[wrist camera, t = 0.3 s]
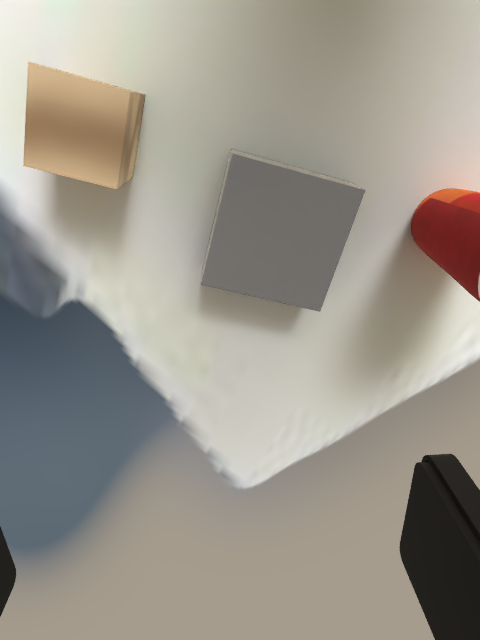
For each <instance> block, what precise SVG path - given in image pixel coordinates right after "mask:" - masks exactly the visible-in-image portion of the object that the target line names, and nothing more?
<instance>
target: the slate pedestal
mask: <svg viewBox="0 0 480 640" xmlns="http://www.w3.org/2000/svg"><path fill="white" fill-rule="evenodd" d="M364 192H365V190H364V189H362V188H360V187H358V186H356V185H355V184H353V183H351V182H348V181H344V180H341V179H337V178H333V177H330V176H326V175H323V174H319V173H315V172H312V171H308V170H305V169H301V168H297V167H294V166H290V165H287V164H283V163H280V162H276V161H272V160H269V159H265V158H262V157H258V156H254V155H251V154H247V153H244V152H240V151H236V150H233V149H231V150H230V155H229V159H228V163H227V167H226V172H225V176H224V180H223V184H222V189H221V193H220V197H219V201H218V205H217V210H216V214H215V218H214V222H213V227H212V231H211V235H210V239H209V243H208V248H207V252H206V256H205V260H204V265H203V270H202V280H201V285H206V286H210V287H215V288H219V289H223V290H228V291H232V292H236V293H241V294H245V295H250V296H254V297H258V298H263V299H267V300H272V301H276V302H280V303H285V304H289V305H294V306H298V307H302V308H307V309H311V310H315V311H320V310H321V307H322V305H323V302H324V299H325V296H326V294H327V291H328V288H329V286H330V283H331V280H332V278H333V275H334V272H335V270H336V267H337V264H338V262H339V259H340V256H341V254H342V251H343V248H344V246H345V243H346V240H347V238H348V235H349V232H350V230H351V227H352V224H353V222H354V219H355V216H356V214H357V211H358V208H359V206H360V203H361V200H362V198H363V195H364Z"/></svg>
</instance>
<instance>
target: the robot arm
mask: <svg viewBox="0 0 480 640" xmlns="http://www.w3.org/2000/svg"><path fill="white" fill-rule="evenodd" d="M400 554H401V558H402V562H403V564H404V567H405V569H406V571H407V574H408V576H409V579H410V581H411V583H412V585H413V588H414V590H415V593H416V595H417V598H418V600H419V602H420V605H421V607H422V609H423V612H424V614H425V617H426V619H427V621H428V624H429V626H430V629H431V631H432V633H433V636H434V638H435V640H480V490H479V489H478V487H477V486H476V485H475V483H474V482H473V480H472V479H471V478H470V476H469V475H468V473H467V472H466V470H465V469H464V468H463V466H462V465H461V463H460V462H459V461H458V459H457V458H456V457H455V456H454V455H452V454H441V455H425V456H424V457H423V459H422V462H420V463H416V465H415V468H414V474H413V479H412V484H411V490H410V494H409V499H408V504H407V510H406V515H405V521H404V525H403V530H402V536H401V541H400ZM15 579H16V568H15V565H14V563H13V560H12V557H11V554H10V551H9V549H8V546H7V543H6V541H5V538H4V536H3V532H2V530H1V527H0V616H1V614H2V612H3V609H4V607H5V605H6V603H7V600H8V598H9V596H10V593H11V591H12V589H13V586H14V583H15Z"/></svg>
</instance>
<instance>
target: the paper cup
mask: <svg viewBox="0 0 480 640" xmlns="http://www.w3.org/2000/svg"><path fill="white" fill-rule="evenodd" d="M411 232H412V236H413V239H414V241H415V242H416V244H417V245H418V246H419V247H420V249H421V250H423V251H424V252H425V253H426V254H427V255H428V256H429V257H430V258H431V259H432V260H433V261H435V262H436V263H437V264H438V265H439V266H440V267H441V268H443V269H444V270H445V271H446V272H447V273H448V274H449V275H451V276H452V277H453V278H454V279H455V280H456V281H457V282H458V283H459V284H460V285H461V286H462V287H464V288H465V289H466V290H467V291H468V292H469V293H470V294H471V295H472V296H474V297H475V298H476V299H477V300H478V301H480V193H478V192H473V191H467V190H461V189H443V190H439V191H437V192H435V193H433V194H431V195H429V196H428V197H427V198H425V199H424V200H423V201H422V202H421V204H420V205H419V206H418V208H417V209H416V211H415V213H414V215H413V218H412V223H411Z"/></svg>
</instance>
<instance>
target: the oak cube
mask: <svg viewBox="0 0 480 640" xmlns="http://www.w3.org/2000/svg"><path fill="white" fill-rule="evenodd" d="M144 100H145V95H144V94H140V93H137V92H133V91H130V90H127V89H123V88H120V87H116V86H113V85H109V84H106V83H102V82H99V81H95V80H92V79H88V78H85V77H82V76H78V75H75V74H71V73H68V72H64V71H61V70H57V69H53V68H49V67H46V66H42V65H38V64H34V63H30V62H28V80H27V102H26V123H25V144H24V165H23V166H26V167H30V168H34V169H38V170H42V171H46V172H50V173H54V174H58V175H62V176H66V177H70V178H73V179H77V180H81V181H85V182H89V183H93V184H97V185H101V186H105V187H109V188H113V189H118V188H120V187H121V186H122V185H124V184H125V183H126V182H127V181H129V180H130V179H131V178H133V173H134V166H135V160H136V153H137V147H138V140H139V133H140V127H141V120H142V113H143V107H144Z"/></svg>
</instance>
